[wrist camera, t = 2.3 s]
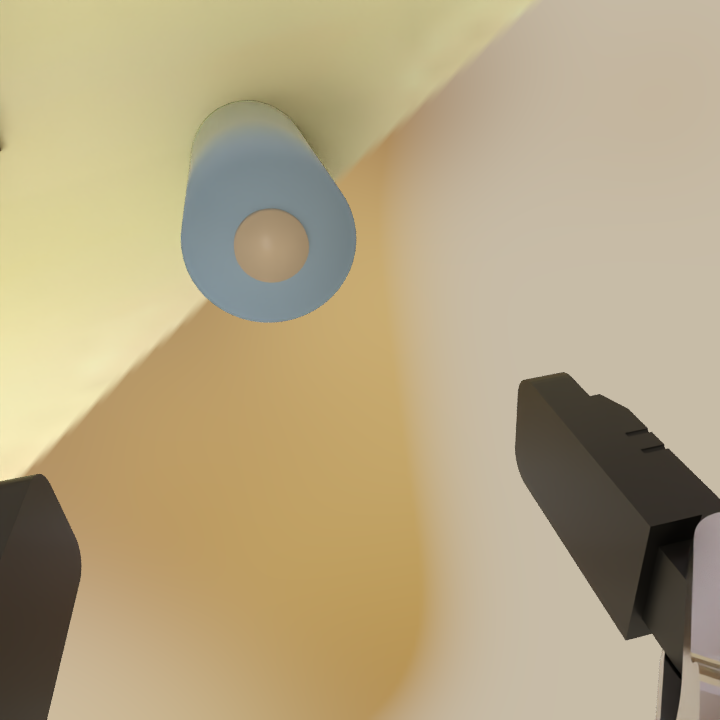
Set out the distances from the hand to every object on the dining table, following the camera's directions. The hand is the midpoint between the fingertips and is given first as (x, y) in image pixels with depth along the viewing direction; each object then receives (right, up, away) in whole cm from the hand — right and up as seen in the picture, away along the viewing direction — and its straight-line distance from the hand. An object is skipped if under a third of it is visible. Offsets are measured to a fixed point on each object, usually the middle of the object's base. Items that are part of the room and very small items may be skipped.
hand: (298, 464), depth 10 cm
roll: (-4, +11, +17) cm, 21 cm away
